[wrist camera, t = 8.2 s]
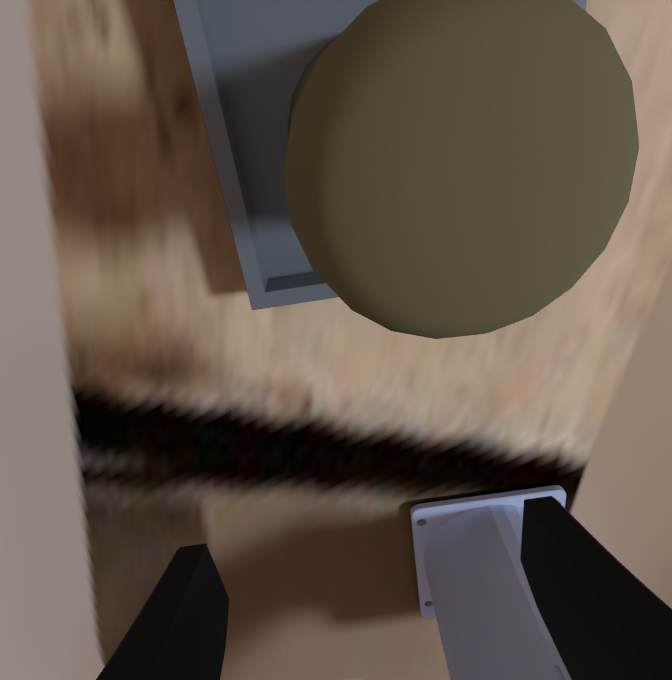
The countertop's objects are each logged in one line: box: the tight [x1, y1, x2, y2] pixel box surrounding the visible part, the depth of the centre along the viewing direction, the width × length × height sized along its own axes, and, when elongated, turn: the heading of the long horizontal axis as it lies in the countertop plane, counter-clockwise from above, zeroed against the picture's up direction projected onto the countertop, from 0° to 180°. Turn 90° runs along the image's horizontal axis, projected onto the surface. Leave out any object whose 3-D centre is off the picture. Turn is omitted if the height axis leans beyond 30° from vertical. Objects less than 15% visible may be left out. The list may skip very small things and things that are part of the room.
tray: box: [173, 0, 586, 310], centre depth 15 cm, size 11×11×2 cm
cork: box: [283, 0, 639, 339], centre depth 11 cm, size 6×6×11 cm
